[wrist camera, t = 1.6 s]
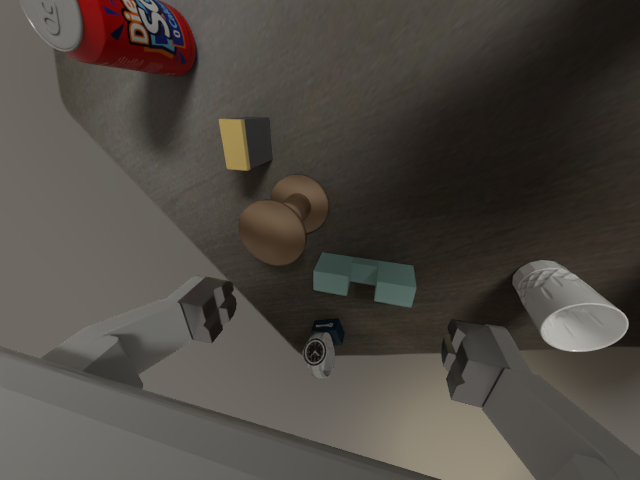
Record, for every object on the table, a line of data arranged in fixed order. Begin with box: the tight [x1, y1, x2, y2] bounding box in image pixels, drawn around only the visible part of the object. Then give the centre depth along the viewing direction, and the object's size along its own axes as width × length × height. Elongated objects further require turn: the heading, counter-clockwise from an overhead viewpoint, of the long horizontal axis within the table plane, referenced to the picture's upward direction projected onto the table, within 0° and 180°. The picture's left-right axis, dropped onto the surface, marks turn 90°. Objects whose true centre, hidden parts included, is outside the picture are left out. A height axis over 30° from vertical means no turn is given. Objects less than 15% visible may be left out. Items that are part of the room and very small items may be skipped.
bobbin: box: [239, 174, 329, 265], centre depth 36 cm, size 10×10×12 cm
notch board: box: [313, 252, 416, 308], centre depth 41 cm, size 4×16×6 cm, turn 89°
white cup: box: [512, 260, 629, 352], centre depth 33 cm, size 8×8×10 cm
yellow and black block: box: [219, 117, 273, 171], centre depth 34 cm, size 6×3×8 cm, turn 179°
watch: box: [302, 319, 344, 378], centre depth 48 cm, size 6×8×11 cm
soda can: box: [19, 0, 195, 76], centre depth 28 cm, size 8×8×15 cm
